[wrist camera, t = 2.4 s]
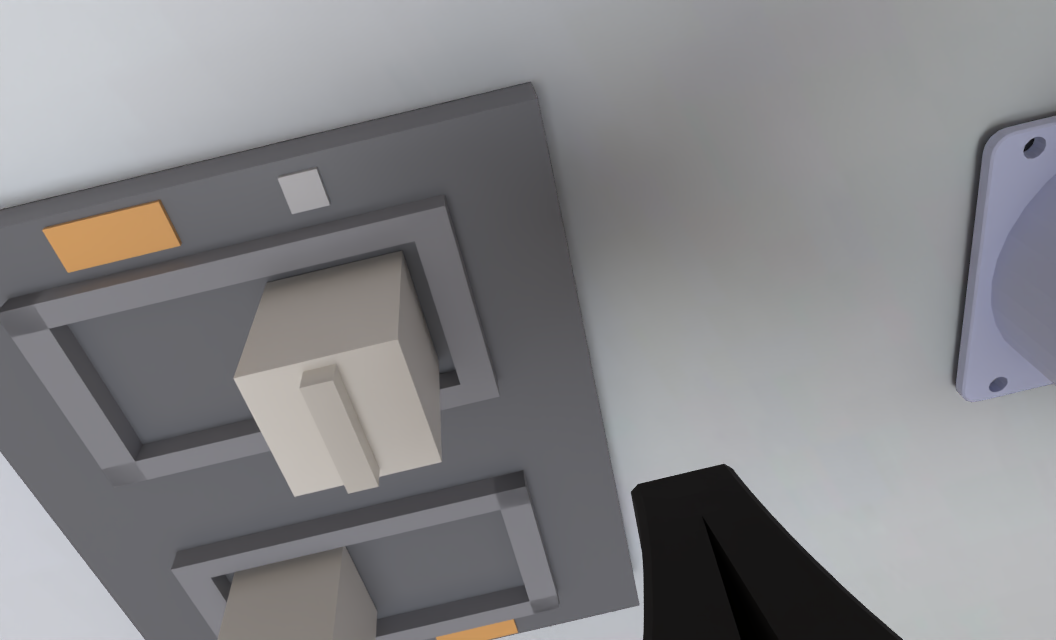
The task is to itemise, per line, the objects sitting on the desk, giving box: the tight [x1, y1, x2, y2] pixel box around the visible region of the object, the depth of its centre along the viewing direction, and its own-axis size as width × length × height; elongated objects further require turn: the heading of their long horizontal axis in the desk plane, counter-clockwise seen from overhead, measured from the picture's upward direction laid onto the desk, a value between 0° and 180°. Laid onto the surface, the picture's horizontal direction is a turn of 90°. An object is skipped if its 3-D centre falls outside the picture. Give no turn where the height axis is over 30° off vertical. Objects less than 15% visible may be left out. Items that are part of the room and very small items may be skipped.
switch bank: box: [0, 82, 639, 640], centre depth 20 cm, size 14×16×2 cm
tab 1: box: [233, 251, 442, 497], centre depth 16 cm, size 3×3×4 cm
